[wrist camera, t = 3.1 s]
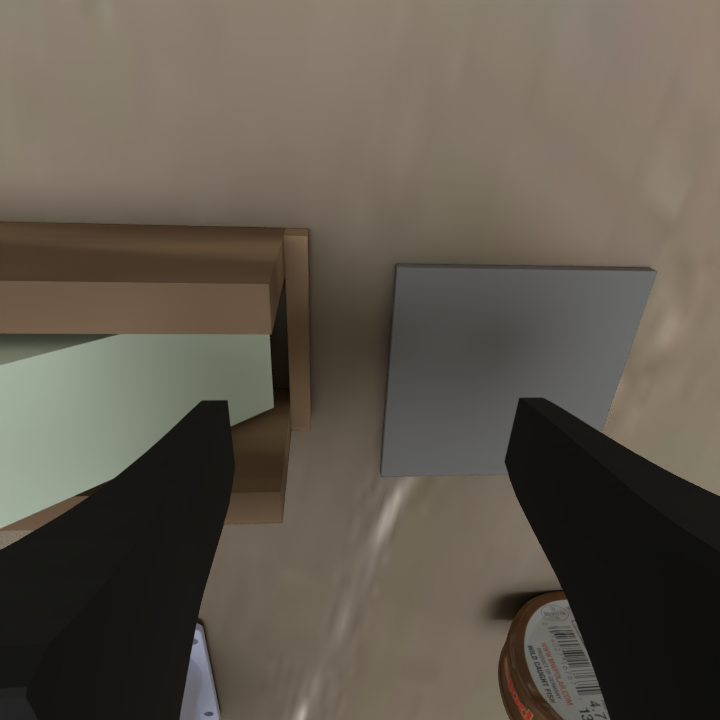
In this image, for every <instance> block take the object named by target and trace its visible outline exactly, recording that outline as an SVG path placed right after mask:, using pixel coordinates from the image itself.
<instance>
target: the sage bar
mask: <svg viewBox="0 0 720 720" xmlns="http://www.w3.org/2000/svg"><path fill="white" fill-rule="evenodd" d="M202 400H228V408H229V416H230V425H231V426H233V425H235V424H238V423H240V422H242V421H244V420H247V419H249V418H251V417H253V416H256V415H258V414H260V413H263V412H265V411H267V410H269V409H272V408H274V401H273V384H272V367H271V350H270V335H259V334H4V333H0V529H1V528H3V527H5V526H7V525H10V524H12V523H14V522H16V521H19V520H21V519H23V518H25V517H28V516H30V515H32V514H34V513H37V512H39V511H41V510H43V509H46V508H48V507H50V506H53V505H55V504H57V503H59V502H62V501H64V500H66V499H68V498H71V497H73V496H75V495H77V494H80V493H82V492H84V491H86V490H89V489H91V488H93V487H95V486H98V485H100V484H102V483H104V482H107V481H109V480H111V479H113V478H115V477H116V476H118V475H119V474H120V473H121V472H122V471H124V470H125V469H126V468H127V467H128V466H130V465H131V464H132V463H133V462H135V461H136V460H137V459H138V458H139V457H141V456H142V455H143V454H144V453H145V452H147V451H148V450H149V449H150V448H151V447H152V446H153V445H154V444H156V443H157V442H158V441H159V440H160V439H161V438H162V437H163V436H164V435H165V434H167V433H168V432H169V431H170V430H171V429H172V428H173V427H174V426H175V425H176V424H177V423H178V422H179V421H180V420H181V419H182V418H183V417H184V416H185V415H187V414H188V413H189V412H190V411H191V410H192V409H193V408H194V407H195V406H196V405H197V404H198V403H199V402H201V401H202Z"/></svg>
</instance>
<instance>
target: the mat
mask: <svg viewBox="0 0 720 720" xmlns="http://www.w3.org/2000/svg"><path fill="white" fill-rule="evenodd" d="M656 274H657V271H656V270H653V269H651V268H626V267H564V266H502V265H440V264H396V266H395V280H394V293H393V306H392V320H391V333H390V346H389V360H388V373H387V386H386V400H385V413H384V426H383V440H382V453H381V466H380V472H381V477H402V476H451V475H500V474H508V471H507V468H506V465H505V462H504V461H505V457H506V452H507V448H508V444H509V439H510V435H511V431H512V426H513V422H514V418H515V414H516V409H517V405H518V401H519V398H540V397H543V398H545V399H547V400H549V401H551V402H552V403H554V404H556V405H558V406H559V407H561V408H563V409H564V410H566V411H567V412H569V413H571V414H572V415H574V416H576V417H577V418H579V419H580V420H582V421H583V422H585V423H587V424H588V425H590V426H591V427H593V428H595V429H596V430H598V431H599V432H602V429H603V426H604V423H605V420H606V417H607V415H608V412H609V409H610V406H611V403H612V400H613V397H614V394H615V392H616V389H617V386H618V383H619V380H620V377H621V374H622V371H623V369H624V366H625V363H626V360H627V357H628V354H629V351H630V348H631V346H632V343H633V340H634V337H635V334H636V331H637V328H638V326H639V323H640V320H641V317H642V314H643V311H644V308H645V305H646V303H647V300H648V297H649V294H650V291H651V288H652V285H653V282H654V280H655V277H656Z"/></svg>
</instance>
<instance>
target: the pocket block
mask: <svg viewBox="0 0 720 720" xmlns="http://www.w3.org/2000/svg"><path fill="white" fill-rule="evenodd" d="M284 278H285V281H286V306H287V332H288V357H289V382H290V389H273V401H274V408H272V409H269V410H267V411H265V412H263V413H260V414H258V415H256V416H253V417H251V418H249V419H247V420H244V421H242V422H240V423H238V424H235V425H233V426H231V434H232V443H233V452H234V460H235V472H234V479H233V485H232V492H231V498H230V504H229V507H228V511H227V515H226V518H225V521H224V525H225V524H261V523H282V522H283V512H284V502H285V491H286V481H287V471H288V461H289V450H290V440H291V431H299V430H310V427H311V385H310V318H309V252H308V229H305V228H259V227H213V226H168V225H122V224H76V223H31V222H0V333H4V334H259V335H272V330H273V326H274V322H275V317H276V313H277V308H278V304H279V300H280V295H281V291H282V286H283V282H284ZM113 479H114V478H113ZM111 480H112V479H111ZM111 480H109V481H107V482H104V483H102V484H100V485H98V486H95V487H93V488H91V489H89V490H86V491H84V492H82V493H80V494H77V495H75V496H73V497H71V498H68V499H66V500H64V501H62V502H59V503H57V504H55V505H53V506H50V507H48V508H46V509H43V510H41V511H39V512H37V513H34V514H32V515H30V516H28V517H25V518H23V519H21V520H19V521H16V522H14V523H12V524H10V525H7V526H5V527H3V528H1V529H0V531H9V530H36V529H38V528H40V527H41V526H43V525H45V524H46V523H48V522H50V521H51V520H53V519H55V518H57V517H58V516H60V515H62V514H63V513H65V512H66V511H68V510H69V509H71V508H73V507H74V506H76V505H77V504H79V503H80V502H81V501H83V500H84V499H86V498H87V497H89V496H90V495H92V494H93V493H95V492H96V491H97V490H99V489H100V488H102V487H103V486H104V485H106V484H107V483H108V482H110V481H111Z"/></svg>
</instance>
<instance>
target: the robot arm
mask: <svg viewBox="0 0 720 720" xmlns="http://www.w3.org/2000/svg"><path fill="white" fill-rule="evenodd" d="M504 462H505V465H506V468H507V471H508V474H509V477H510V481H511V483H512V486H513V489H514V492H515V494H516V497H517V499H518V501H519V503H520V505H521V507H522V509H523V511H524V513H525V515H526V517H527V519H528V521H529V523H530V525H531V527H532V529H533V531H534V533H535V535H536V537H537V539H538V541H539V543H540V545H541V547H542V549H543V551H544V553H545V554H546V556H547V558H548V560H549V562H550V564H551V566H552V568H553V570H554V572H555V574H556V576H557V578H558V580H559V582H560V585H561V587H562V589H563V591H564V593H565V595H566V598H567V601H568V603H569V606H570V608H571V611H572V613H573V616H574V618H575V621H576V624H577V626H578V629H579V631H580V634H581V636H582V639H583V642H584V645H585V647H586V650H587V653H588V656H589V659H590V661H591V664H592V667H593V670H594V672H595V675H596V678H597V681H598V684H599V687H600V690H601V693H602V696H603V699H604V702H605V705H606V708H607V711H608V714H609V717H610V720H720V496H718V495H716V494H713V493H711V492H709V491H707V490H705V489H703V488H701V487H699V486H697V485H695V484H693V483H690V482H688V481H686V480H684V479H682V478H680V477H678V476H676V475H674V474H672V473H670V472H668V471H667V470H665V469H663V468H661V467H659V466H657V465H656V464H654V463H652V462H650V461H648V460H647V459H645V458H643V457H641V456H639V455H638V454H636V453H634V452H632V451H631V450H629V449H627V448H626V447H624V446H622V445H621V444H619V443H617V442H616V441H614V440H612V439H611V438H609V437H607V436H606V435H604V434H603V433H601V432H599V431H598V430H596V429H595V428H593V427H591V426H590V425H588V424H587V423H585V422H583V421H582V420H580V419H579V418H577V417H576V416H574V415H572V414H571V413H569V412H567V411H566V410H564V409H563V408H561V407H559V406H558V405H556V404H554V403H552V402H551V401H549V400H547V399H545V398H543V397H540V398H519V401H518V405H517V409H516V414H515V418H514V422H513V426H512V431H511V435H510V439H509V444H508V448H507V452H506V457H505V461H504ZM234 472H235V460H234V452H233V443H232V434H231V425H230V416H229V408H228V400H202V401H201V402H199V403H198V404H197V405H196V406H195V407H194V408H193V409H192V410H191V411H190V412H189V413H188V414H187V415H185V416H184V417H183V418H182V419H181V420H180V421H179V422H178V423H177V424H176V425H175V426H174V427H173V428H172V429H171V430H170V431H169V432H168V433H167V434H165V435H164V436H163V437H162V438H161V439H160V440H159V441H158V442H157V443H156V444H154V445H153V446H152V447H151V448H150V449H149V450H148V451H147V452H145V453H144V454H143V455H142V456H141V457H139V458H138V459H137V460H136V461H135V462H133V463H132V464H131V465H130V466H128V467H127V468H126V469H125V470H124V471H122V472H121V473H120V474H119V475H118V476H116V477H115V478H114V479H112V480H111V481H110V482H108V483H107V484H106V485H104V486H103V487H102V488H100V489H99V490H97V491H96V492H95V493H93V494H92V495H90V496H89V497H87V498H86V499H84V500H83V501H81V502H80V503H79V504H77V505H76V506H74V507H73V508H71V509H69V510H68V511H66V512H65V513H63V514H62V515H60V516H58V517H57V518H55V519H53V520H51V521H50V522H48V523H46V524H45V525H43V526H41V527H40V528H38V529H36V530H35V531H33V532H31V533H30V534H28V535H26V536H25V537H23V538H21V539H20V540H18V541H16V542H14V543H13V544H11V545H9V546H7V547H5V548H3V549H1V550H0V720H220V716H221V715H220V710H219V705H218V700H217V695H216V690H215V685H214V680H213V675H212V670H211V665H210V660H209V655H208V650H207V645H206V640H205V635H204V630H203V627H202V626H201V625H200V624H198V623H197V619H198V614H199V609H200V605H201V601H202V597H203V593H204V590H205V586H206V583H207V579H208V576H209V573H210V569H211V566H212V562H213V559H214V556H215V552H216V549H217V546H218V542H219V539H220V535H221V532H222V528H223V525H224V521H225V518H226V515H227V511H228V507H229V504H230V498H231V492H232V485H233V479H234Z"/></svg>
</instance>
